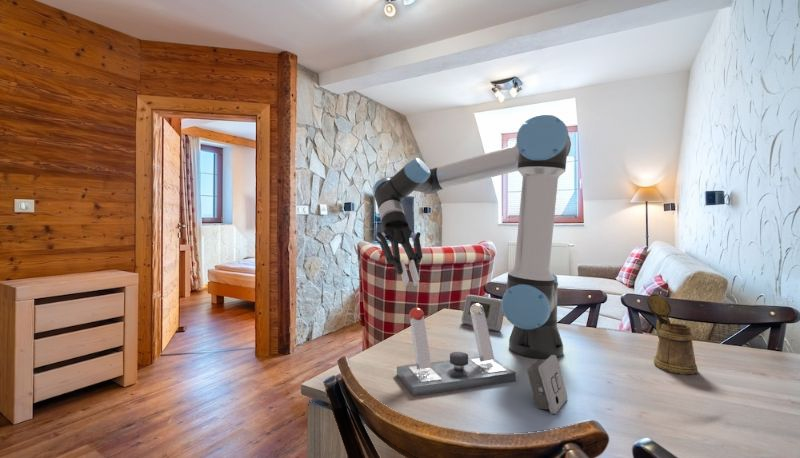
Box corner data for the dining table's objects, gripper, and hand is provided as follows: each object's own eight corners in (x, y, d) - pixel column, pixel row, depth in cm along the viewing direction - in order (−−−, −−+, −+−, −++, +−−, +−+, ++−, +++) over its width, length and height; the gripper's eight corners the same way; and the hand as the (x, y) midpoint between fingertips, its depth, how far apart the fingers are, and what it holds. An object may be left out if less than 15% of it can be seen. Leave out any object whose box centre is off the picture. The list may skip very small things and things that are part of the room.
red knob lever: (428, 368, 90) (419, 308, 96) (433, 367, 87) (424, 305, 93) (414, 370, 89) (406, 309, 95) (419, 369, 86) (410, 306, 92)
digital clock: (458, 323, 139) (459, 295, 139) (475, 319, 144) (476, 292, 144) (492, 334, 126) (493, 303, 126) (510, 329, 131) (510, 299, 131)
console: (489, 362, 100) (489, 349, 100) (515, 380, 89) (515, 365, 89) (396, 374, 92) (396, 360, 92) (413, 396, 81) (413, 379, 81)
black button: (462, 358, 94) (462, 351, 94) (471, 364, 89) (471, 357, 89) (446, 360, 92) (446, 352, 92) (454, 366, 88) (454, 359, 88)
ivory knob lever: (490, 360, 96) (478, 304, 101) (497, 359, 92) (484, 301, 98) (477, 362, 94) (466, 305, 100) (484, 360, 91) (472, 302, 97)
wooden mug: (668, 355, 106) (669, 292, 106) (706, 375, 92) (708, 303, 92) (636, 355, 106) (637, 292, 106) (670, 375, 93) (672, 302, 92)
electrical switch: (555, 416, 73) (550, 368, 73) (528, 410, 76) (524, 364, 76) (568, 399, 80) (564, 355, 80) (543, 394, 83) (540, 352, 84)
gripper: (414, 227, 117) (434, 289, 101) (366, 227, 112) (380, 292, 97) (420, 210, 112) (443, 272, 96) (370, 209, 107) (386, 275, 91)
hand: (411, 282), depth 96 cm, fingers open, 2 cm apart
